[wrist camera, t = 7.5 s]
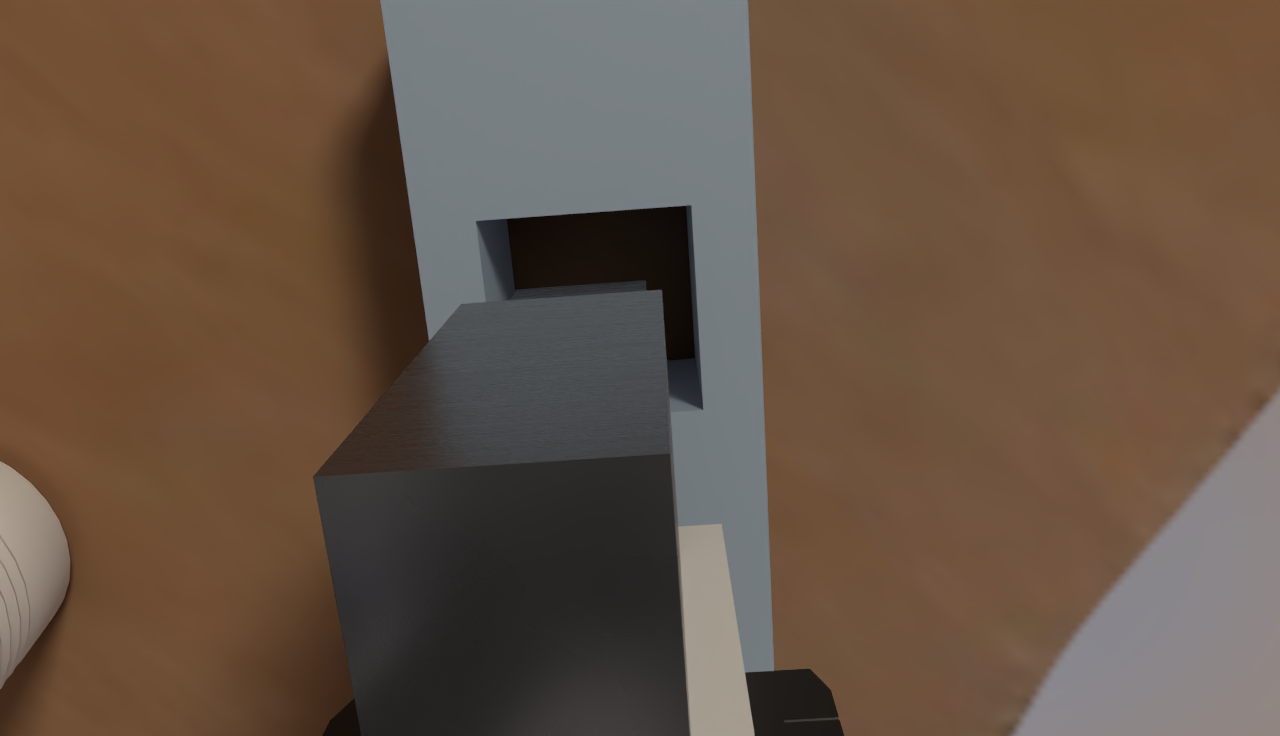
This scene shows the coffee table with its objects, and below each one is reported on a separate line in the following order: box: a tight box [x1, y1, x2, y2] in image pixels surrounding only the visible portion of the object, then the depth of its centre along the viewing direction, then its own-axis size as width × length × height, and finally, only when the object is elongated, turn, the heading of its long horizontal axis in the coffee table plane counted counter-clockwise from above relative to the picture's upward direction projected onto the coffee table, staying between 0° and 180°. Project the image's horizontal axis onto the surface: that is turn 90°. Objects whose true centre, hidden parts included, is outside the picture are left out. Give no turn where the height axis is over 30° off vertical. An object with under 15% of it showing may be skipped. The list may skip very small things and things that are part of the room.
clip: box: [313, 280, 691, 736], centre depth 14 cm, size 3×12×10 cm, turn 4°
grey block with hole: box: [381, 0, 774, 672], centre depth 23 cm, size 7×22×4 cm, turn 4°
